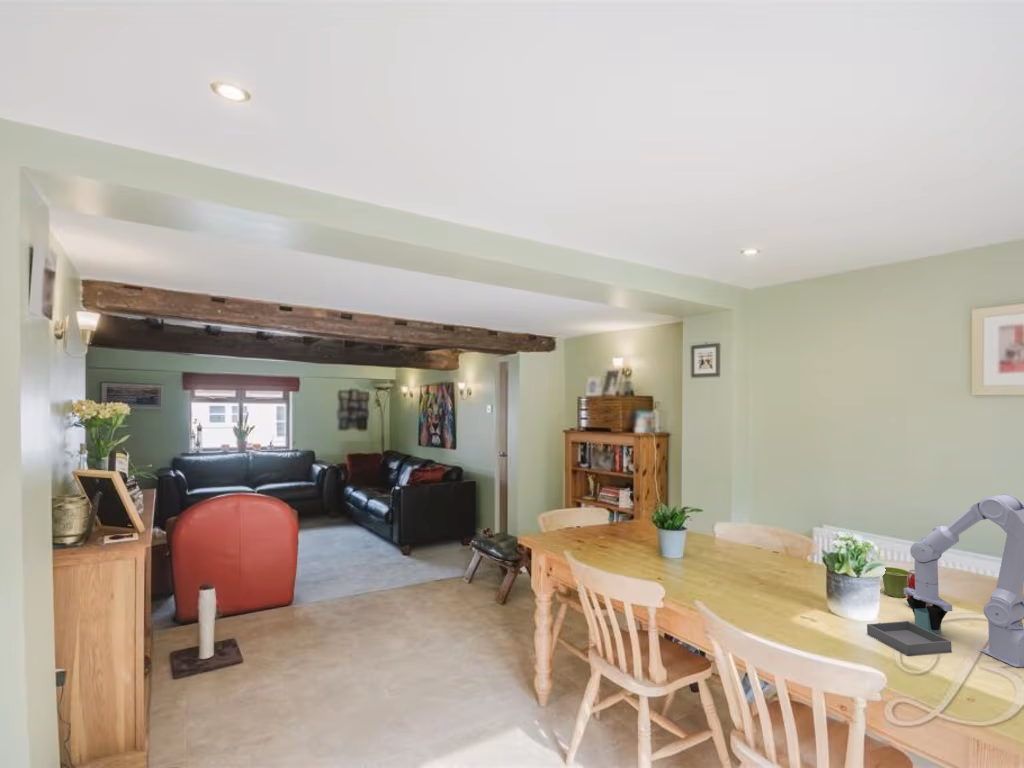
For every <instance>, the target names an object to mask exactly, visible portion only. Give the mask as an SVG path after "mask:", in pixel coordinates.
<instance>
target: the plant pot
mask: <svg viewBox="0 0 1024 768" xmlns="http://www.w3.org/2000/svg"><path fill="white" fill-rule="evenodd" d="M884 567H885V569H886V571H885V574H884V575H883V576H882V575H881V578H882V581H883V588H884V594H885V595H887V596H891V597H893V598H895V599H896V598H899V599H903V598H907V595H905V594H904V588H907V575H908V574H909V573H910V572H909V571H910V570H906V569H904V568H899V567H893V566H891V567H890V566H884Z"/></svg>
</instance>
